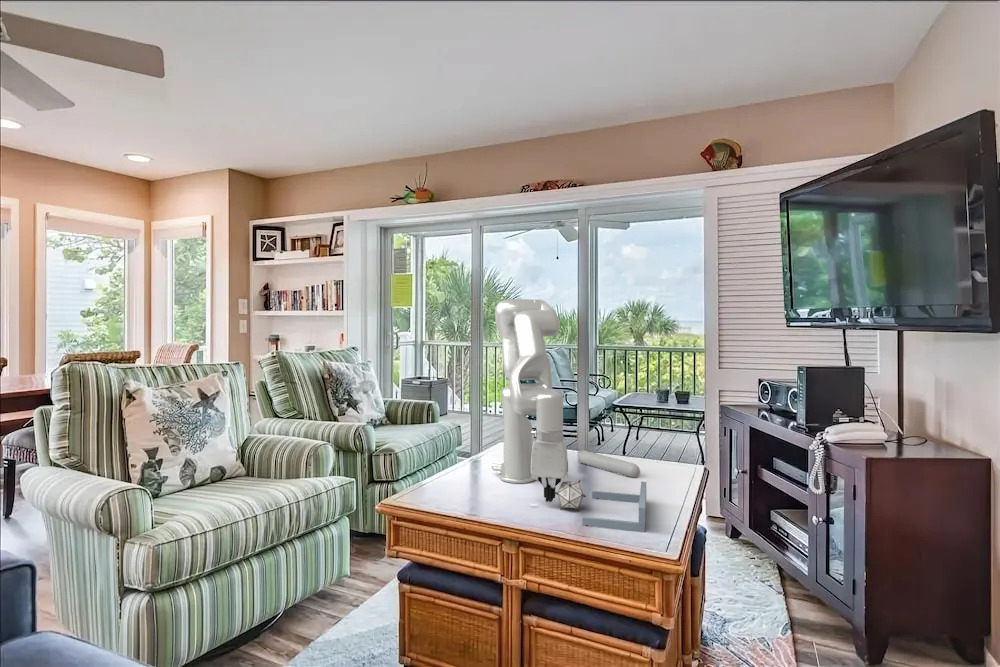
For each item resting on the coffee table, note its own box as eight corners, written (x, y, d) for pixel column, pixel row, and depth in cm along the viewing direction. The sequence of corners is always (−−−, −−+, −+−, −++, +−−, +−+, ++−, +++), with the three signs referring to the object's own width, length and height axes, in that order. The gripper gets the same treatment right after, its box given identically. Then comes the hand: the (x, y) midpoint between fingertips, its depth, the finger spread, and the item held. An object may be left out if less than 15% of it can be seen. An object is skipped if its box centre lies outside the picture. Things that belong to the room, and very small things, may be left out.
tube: (644, 465, 180) (588, 451, 200) (635, 463, 177) (579, 448, 197) (641, 481, 179) (585, 465, 199) (631, 479, 176) (576, 462, 196)
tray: (582, 525, 137) (582, 502, 136) (592, 497, 159) (592, 477, 158) (644, 532, 132) (644, 508, 132) (646, 502, 154) (646, 481, 154)
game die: (574, 520, 150) (594, 490, 152) (572, 519, 142) (593, 488, 144) (548, 500, 153) (568, 471, 155) (545, 498, 146) (566, 468, 147)
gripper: (520, 436, 149) (520, 502, 149) (573, 440, 144) (573, 507, 144) (527, 431, 156) (527, 494, 156) (578, 434, 151) (578, 498, 152)
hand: (549, 500), depth 150 cm, fingers closed
